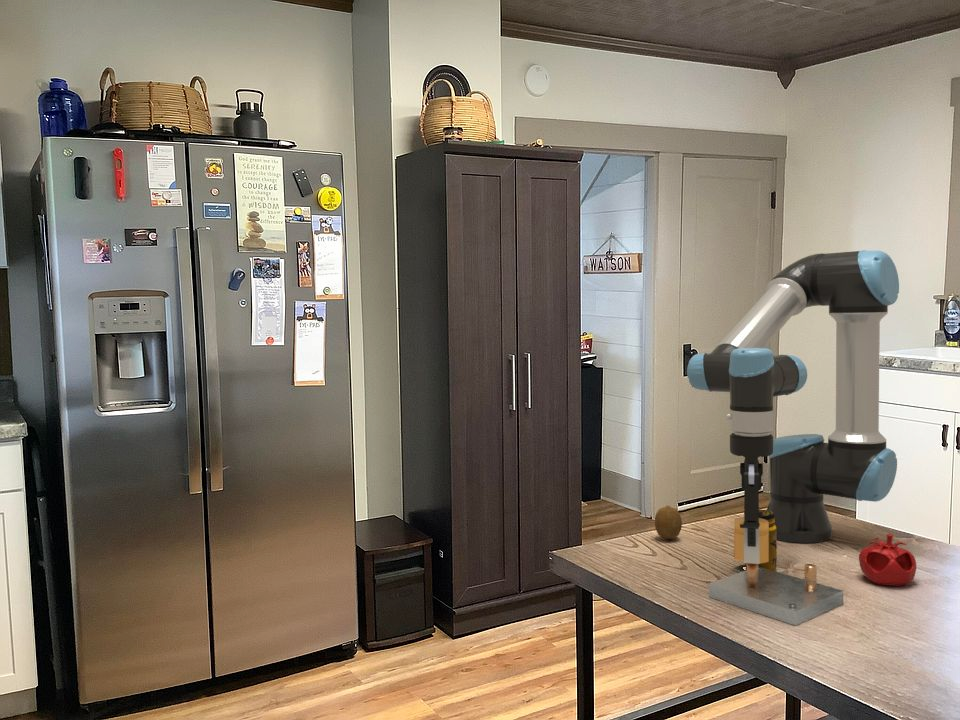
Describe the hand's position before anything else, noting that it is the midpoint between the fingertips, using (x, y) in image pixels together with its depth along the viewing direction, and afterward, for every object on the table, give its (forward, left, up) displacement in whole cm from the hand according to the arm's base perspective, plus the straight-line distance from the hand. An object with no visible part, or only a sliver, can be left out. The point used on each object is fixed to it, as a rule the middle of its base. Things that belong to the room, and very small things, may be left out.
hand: (751, 557), depth 151 cm
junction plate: (-3, +3, -8) cm, 9 cm away
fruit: (-18, -35, -8) cm, 40 cm away
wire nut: (0, 0, 0) cm, 0 cm away
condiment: (-15, -9, -8) cm, 19 cm away
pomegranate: (-28, +11, -8) cm, 31 cm away
